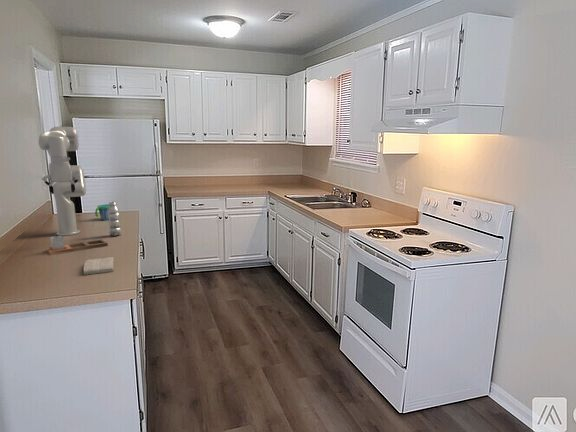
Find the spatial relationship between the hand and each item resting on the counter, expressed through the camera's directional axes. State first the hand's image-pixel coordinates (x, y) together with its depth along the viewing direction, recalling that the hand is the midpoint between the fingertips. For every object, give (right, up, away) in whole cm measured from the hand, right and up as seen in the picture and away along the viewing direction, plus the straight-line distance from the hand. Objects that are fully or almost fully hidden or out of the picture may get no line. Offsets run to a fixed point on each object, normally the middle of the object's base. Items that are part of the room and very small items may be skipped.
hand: (62, 192), depth 214 cm
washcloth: (+36, -36, -34) cm, 61 cm away
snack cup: (-10, -15, +75) cm, 77 cm away
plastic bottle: (+17, -24, +25) cm, 39 cm away
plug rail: (+9, -29, -2) cm, 30 cm away
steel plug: (+2, -30, -7) cm, 31 cm away
